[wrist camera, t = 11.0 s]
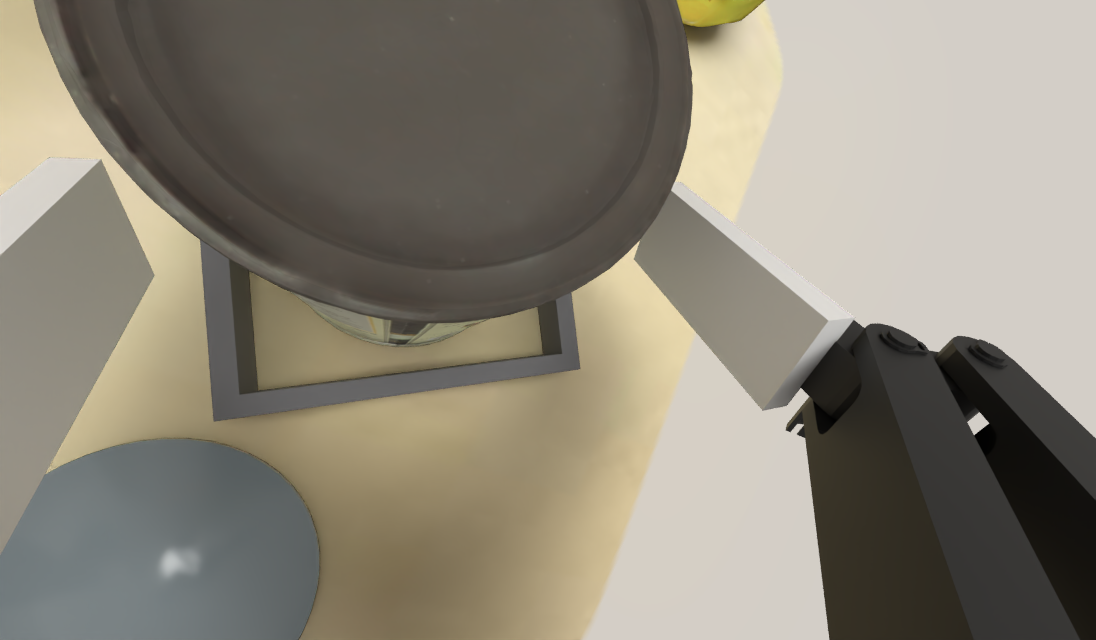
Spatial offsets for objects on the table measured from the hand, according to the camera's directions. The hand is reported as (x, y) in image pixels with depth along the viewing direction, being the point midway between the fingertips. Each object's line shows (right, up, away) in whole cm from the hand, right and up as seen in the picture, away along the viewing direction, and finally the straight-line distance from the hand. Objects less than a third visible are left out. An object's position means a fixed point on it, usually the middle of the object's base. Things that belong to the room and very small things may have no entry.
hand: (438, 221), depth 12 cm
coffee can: (-4, +1, +9) cm, 10 cm away
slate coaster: (-12, -13, +4) cm, 18 cm away
